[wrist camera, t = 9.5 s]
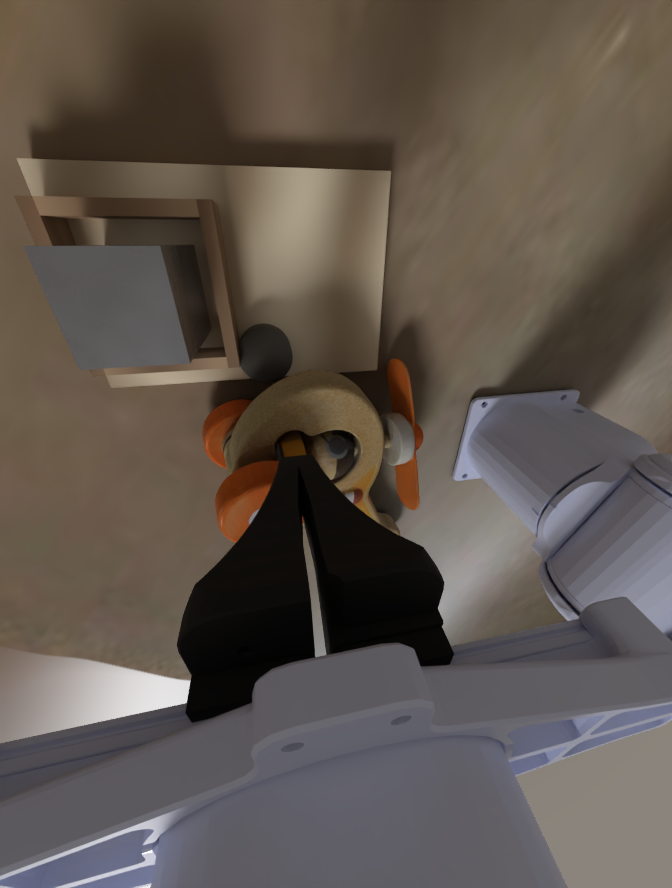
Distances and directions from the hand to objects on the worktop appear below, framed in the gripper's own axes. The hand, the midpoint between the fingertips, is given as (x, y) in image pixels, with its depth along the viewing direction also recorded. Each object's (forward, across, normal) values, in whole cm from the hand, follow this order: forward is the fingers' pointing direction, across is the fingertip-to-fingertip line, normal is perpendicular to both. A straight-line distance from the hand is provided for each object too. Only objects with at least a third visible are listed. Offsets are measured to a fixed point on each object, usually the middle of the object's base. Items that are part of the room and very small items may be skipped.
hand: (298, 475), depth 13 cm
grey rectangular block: (+9, +6, -6) cm, 12 cm away
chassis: (+10, +2, -6) cm, 12 cm away
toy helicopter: (+6, +2, +10) cm, 11 cm away
